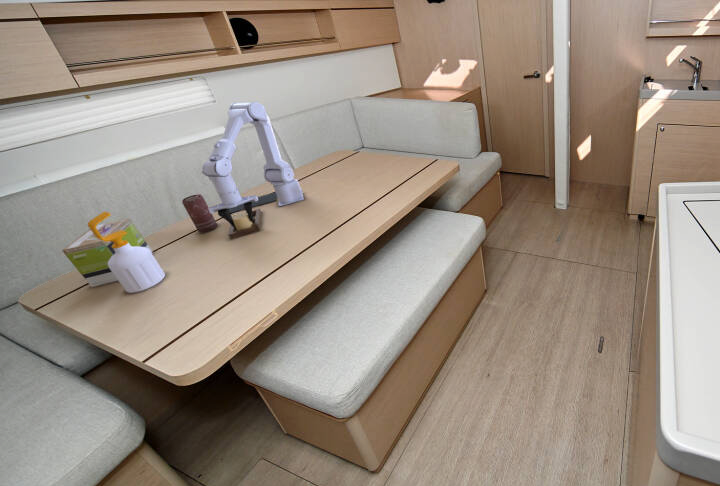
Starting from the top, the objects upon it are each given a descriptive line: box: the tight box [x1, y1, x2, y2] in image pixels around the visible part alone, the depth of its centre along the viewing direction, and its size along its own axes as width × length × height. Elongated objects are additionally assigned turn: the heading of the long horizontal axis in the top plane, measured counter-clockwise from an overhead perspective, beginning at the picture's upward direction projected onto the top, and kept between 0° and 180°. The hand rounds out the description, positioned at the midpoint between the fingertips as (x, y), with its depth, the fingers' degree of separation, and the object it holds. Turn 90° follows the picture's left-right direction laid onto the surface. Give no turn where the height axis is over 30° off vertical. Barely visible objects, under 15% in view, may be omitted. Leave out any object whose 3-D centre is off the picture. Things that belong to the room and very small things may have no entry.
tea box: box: [61, 217, 154, 288], centre depth 113 cm, size 15×10×15 cm, turn 22°
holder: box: [228, 207, 263, 240], centre depth 136 cm, size 9×17×2 cm, turn 32°
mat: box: [228, 191, 278, 214], centre depth 154 cm, size 18×10×1 cm, turn 122°
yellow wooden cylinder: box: [232, 212, 255, 231], centre depth 132 cm, size 5×5×6 cm
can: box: [181, 193, 218, 234], centre depth 134 cm, size 6×6×14 cm
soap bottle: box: [87, 211, 166, 294], centre depth 103 cm, size 9×9×25 cm
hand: (243, 223), depth 132 cm, fingers closed on yellow wooden cylinder, 5 cm apart
